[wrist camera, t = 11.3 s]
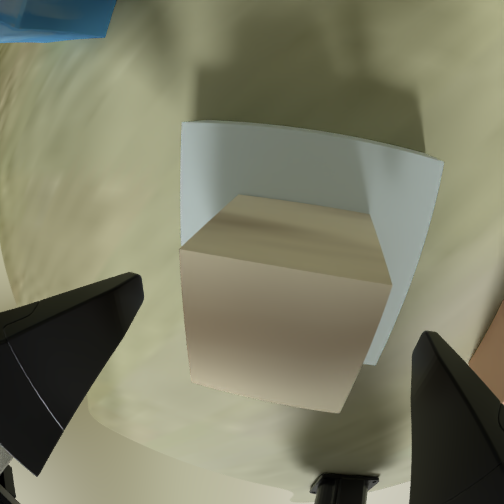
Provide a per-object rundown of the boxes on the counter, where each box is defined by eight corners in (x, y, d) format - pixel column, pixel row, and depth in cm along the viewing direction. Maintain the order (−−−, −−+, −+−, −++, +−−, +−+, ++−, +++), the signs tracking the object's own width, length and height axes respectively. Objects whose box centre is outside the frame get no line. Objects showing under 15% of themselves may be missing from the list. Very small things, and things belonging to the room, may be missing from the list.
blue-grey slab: (372, 328, 16) (375, 365, 13) (206, 294, 18) (185, 324, 15) (422, 152, 11) (444, 162, 9) (211, 119, 13) (181, 122, 11)
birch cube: (343, 321, 13) (339, 413, 8) (234, 301, 14) (191, 382, 9) (369, 214, 10) (392, 285, 6) (238, 194, 11) (179, 249, 7)
